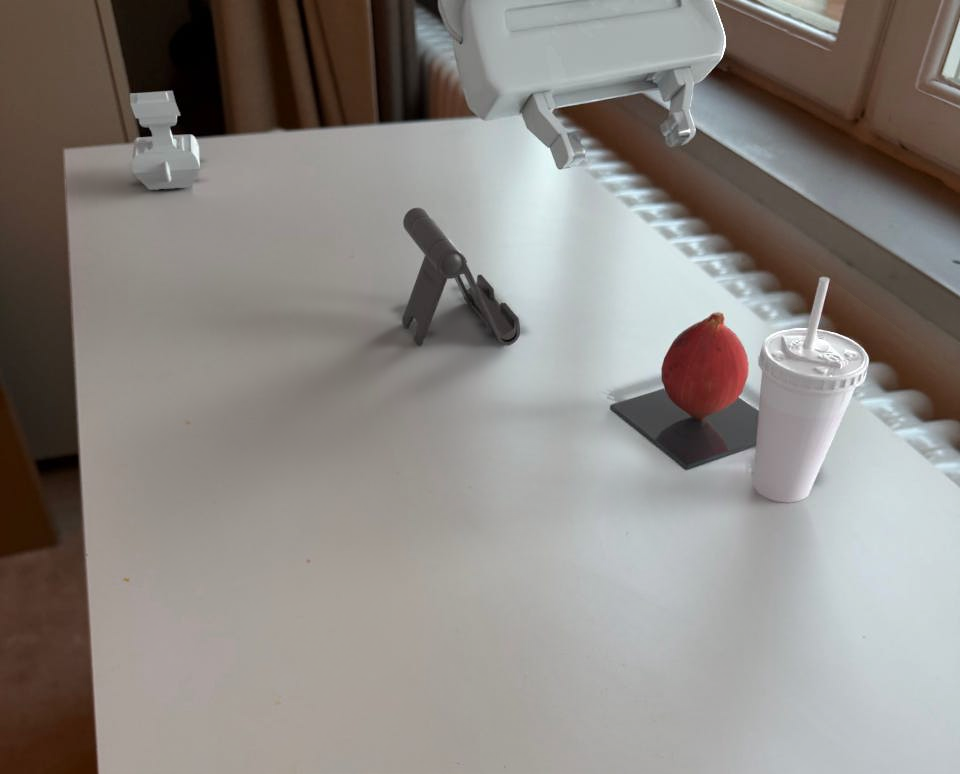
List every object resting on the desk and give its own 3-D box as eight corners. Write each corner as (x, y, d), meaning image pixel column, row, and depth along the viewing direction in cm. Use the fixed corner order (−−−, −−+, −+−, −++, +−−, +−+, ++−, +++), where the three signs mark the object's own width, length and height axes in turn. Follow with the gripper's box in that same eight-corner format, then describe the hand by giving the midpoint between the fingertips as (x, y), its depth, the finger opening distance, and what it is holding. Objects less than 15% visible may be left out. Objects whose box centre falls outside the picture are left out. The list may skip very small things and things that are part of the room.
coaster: (706, 379, 78) (707, 374, 78) (787, 435, 73) (788, 430, 72) (609, 409, 75) (609, 404, 75) (686, 470, 69) (687, 465, 69)
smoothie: (770, 448, 72) (817, 249, 62) (850, 488, 68) (913, 284, 58) (712, 484, 68) (752, 280, 59) (793, 527, 65) (850, 319, 55)
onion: (647, 430, 72) (662, 323, 67) (665, 390, 76) (680, 286, 71) (730, 446, 71) (752, 338, 66) (744, 405, 75) (766, 300, 69)
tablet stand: (520, 345, 82) (524, 241, 76) (426, 361, 80) (423, 255, 74) (482, 298, 88) (483, 198, 82) (394, 312, 86) (388, 211, 80)
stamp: (205, 197, 104) (190, 107, 98) (137, 202, 103) (118, 111, 97) (202, 166, 111) (187, 80, 105) (138, 171, 110) (120, 84, 104)
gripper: (444, -56, 65) (519, 153, 66) (700, -83, 73) (766, 105, 73) (415, 10, 71) (484, 201, 72) (655, -22, 78) (716, 152, 79)
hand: (629, 152), depth 72 cm, fingers open, 8 cm apart
